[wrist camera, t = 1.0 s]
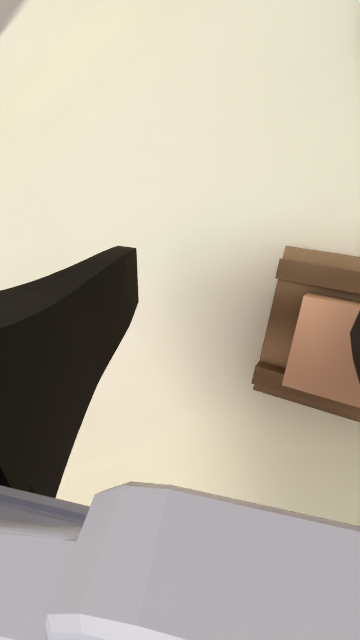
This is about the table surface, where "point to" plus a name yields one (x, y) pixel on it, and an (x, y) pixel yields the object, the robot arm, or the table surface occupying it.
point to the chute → (293, 283)
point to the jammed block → (324, 350)
